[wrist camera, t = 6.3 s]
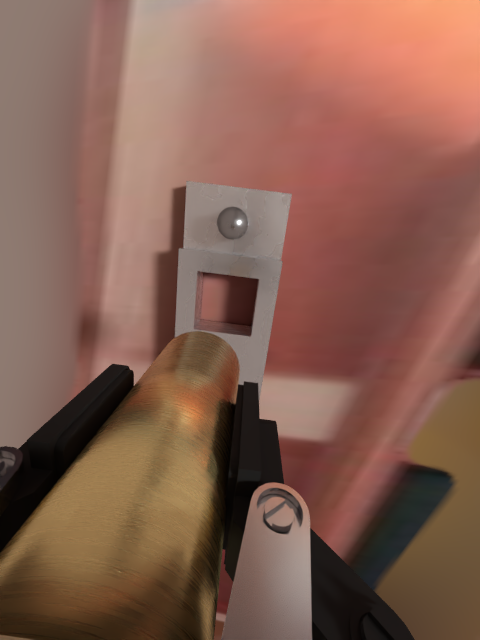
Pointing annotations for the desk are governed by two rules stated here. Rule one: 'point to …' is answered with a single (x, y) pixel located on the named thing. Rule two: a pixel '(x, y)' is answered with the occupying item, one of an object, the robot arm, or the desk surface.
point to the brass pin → (134, 513)
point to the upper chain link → (256, 341)
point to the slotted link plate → (234, 225)
